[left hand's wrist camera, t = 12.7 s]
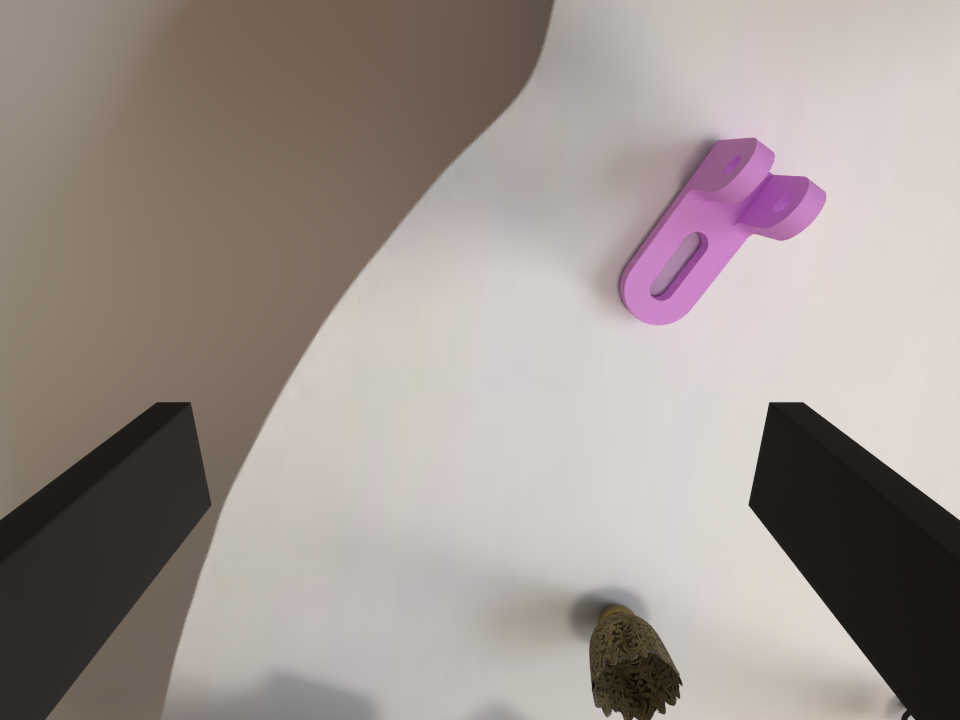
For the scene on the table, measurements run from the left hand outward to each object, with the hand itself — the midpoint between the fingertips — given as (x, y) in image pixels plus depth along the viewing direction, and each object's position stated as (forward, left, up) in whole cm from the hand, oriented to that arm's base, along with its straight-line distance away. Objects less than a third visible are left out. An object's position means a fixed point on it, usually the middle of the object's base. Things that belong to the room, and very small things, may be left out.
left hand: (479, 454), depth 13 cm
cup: (+30, +22, -30) cm, 48 cm away
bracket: (-5, +15, -30) cm, 34 cm away
